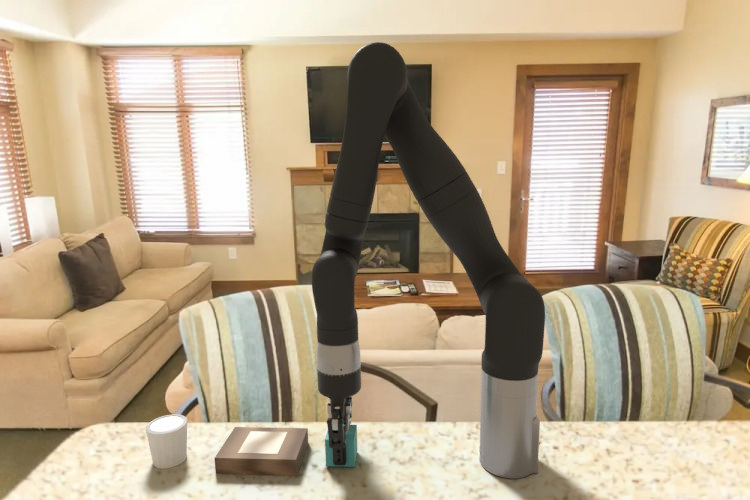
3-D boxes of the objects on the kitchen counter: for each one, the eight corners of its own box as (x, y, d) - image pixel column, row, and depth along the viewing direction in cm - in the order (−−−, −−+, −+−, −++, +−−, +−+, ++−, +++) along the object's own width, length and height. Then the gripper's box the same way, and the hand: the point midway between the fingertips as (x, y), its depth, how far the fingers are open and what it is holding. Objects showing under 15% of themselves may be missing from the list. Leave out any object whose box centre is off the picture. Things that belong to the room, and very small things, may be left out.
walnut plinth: (308, 442, 91) (307, 428, 91) (296, 475, 81) (295, 459, 81) (235, 441, 92) (234, 426, 92) (215, 473, 82) (214, 457, 82)
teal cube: (357, 450, 88) (356, 424, 87) (354, 466, 83) (353, 439, 82) (330, 449, 88) (329, 424, 88) (326, 466, 83) (324, 439, 83)
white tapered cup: (175, 472, 83) (172, 435, 82) (140, 468, 84) (136, 431, 83) (198, 450, 89) (195, 415, 88) (165, 446, 91) (161, 412, 90)
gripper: (356, 382, 76) (359, 480, 78) (364, 348, 90) (366, 433, 92) (309, 382, 76) (313, 479, 79) (324, 348, 90) (327, 432, 93)
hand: (342, 454), depth 86 cm, fingers closed on teal cube, 5 cm apart
